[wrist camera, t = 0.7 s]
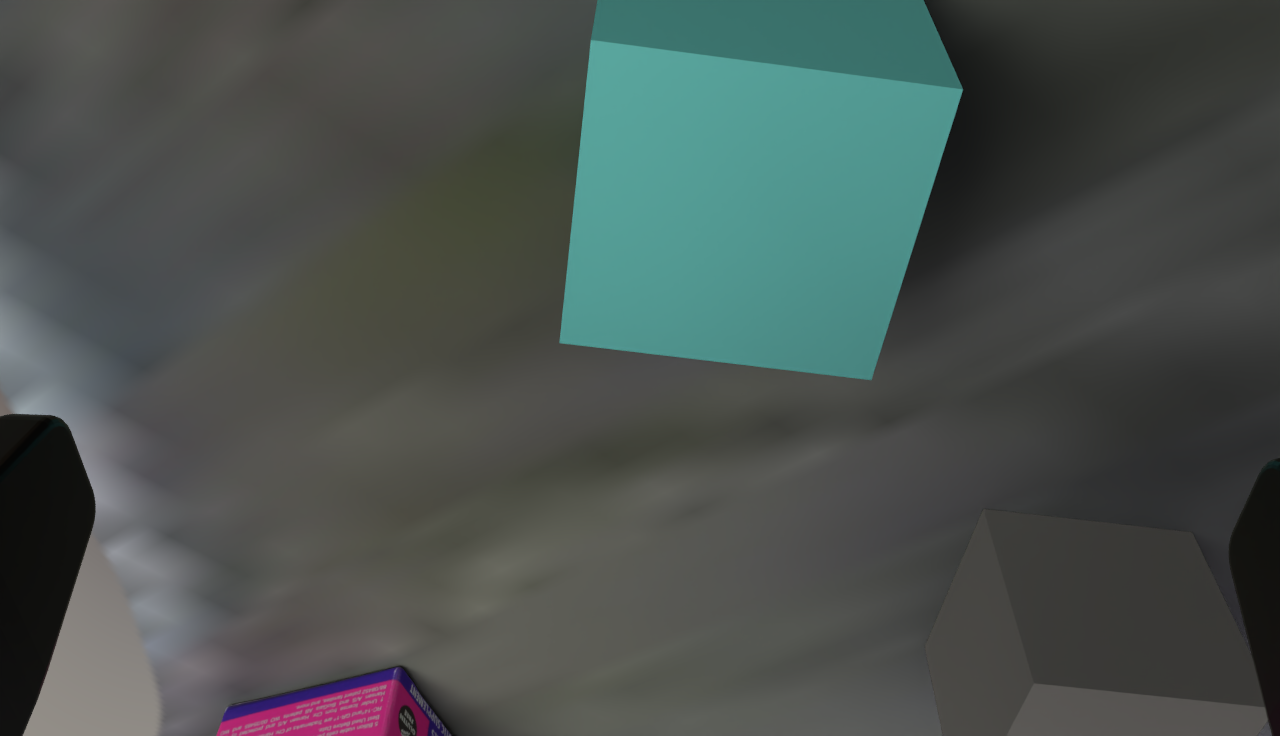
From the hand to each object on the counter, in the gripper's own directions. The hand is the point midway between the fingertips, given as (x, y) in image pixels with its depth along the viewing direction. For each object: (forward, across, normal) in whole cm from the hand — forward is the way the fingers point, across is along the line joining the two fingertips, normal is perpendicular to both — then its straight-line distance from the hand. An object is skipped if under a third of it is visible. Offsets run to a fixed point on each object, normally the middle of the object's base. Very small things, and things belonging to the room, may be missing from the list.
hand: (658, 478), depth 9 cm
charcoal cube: (+13, -10, +16) cm, 23 cm away
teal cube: (+13, -1, +3) cm, 14 cm away
